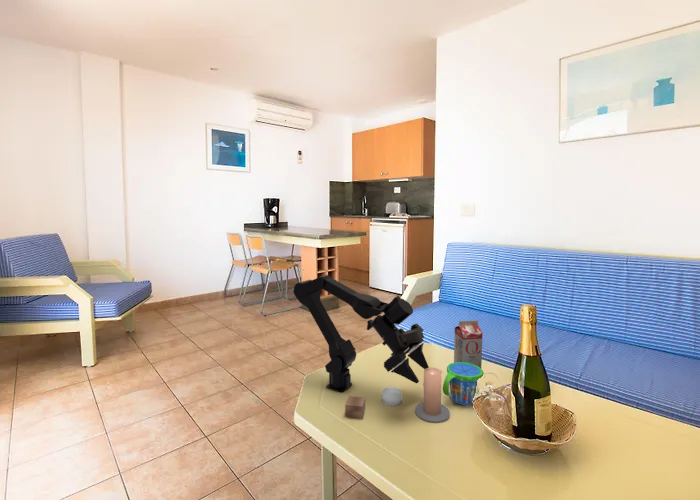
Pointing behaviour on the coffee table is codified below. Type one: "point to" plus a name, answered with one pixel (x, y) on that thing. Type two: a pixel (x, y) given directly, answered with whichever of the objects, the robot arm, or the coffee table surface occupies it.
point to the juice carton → (468, 343)
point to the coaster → (432, 418)
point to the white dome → (391, 396)
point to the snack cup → (462, 382)
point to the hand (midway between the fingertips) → (423, 376)
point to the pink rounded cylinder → (432, 391)
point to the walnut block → (355, 407)
